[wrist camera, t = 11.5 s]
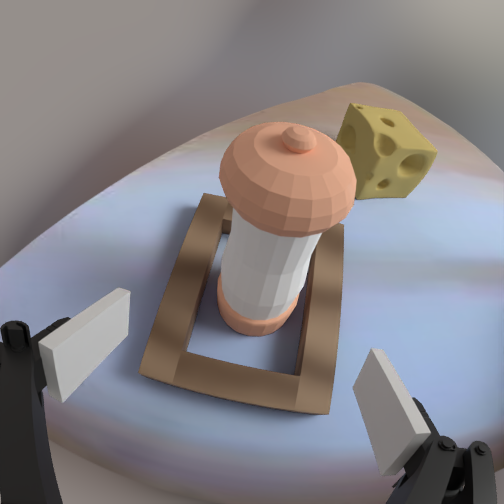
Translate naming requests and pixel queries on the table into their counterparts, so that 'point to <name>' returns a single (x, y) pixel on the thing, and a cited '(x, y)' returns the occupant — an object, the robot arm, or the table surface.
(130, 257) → the table surface
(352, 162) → the cheese
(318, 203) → the salt shaker
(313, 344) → the rail frame
